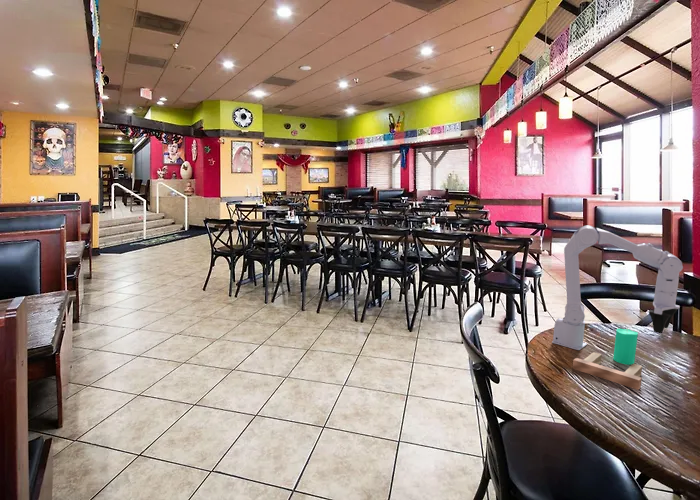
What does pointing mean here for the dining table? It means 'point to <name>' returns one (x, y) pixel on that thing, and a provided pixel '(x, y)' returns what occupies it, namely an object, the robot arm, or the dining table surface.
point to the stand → (609, 371)
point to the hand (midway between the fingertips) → (660, 329)
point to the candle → (625, 346)
